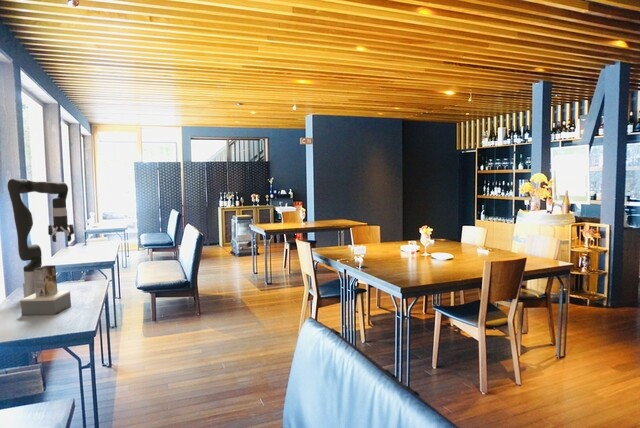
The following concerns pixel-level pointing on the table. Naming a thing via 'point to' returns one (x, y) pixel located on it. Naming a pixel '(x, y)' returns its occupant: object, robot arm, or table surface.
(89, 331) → the table surface
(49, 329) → the table surface
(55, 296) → the lid
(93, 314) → the table surface
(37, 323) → the table surface
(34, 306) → the box
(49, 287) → the coffee box
